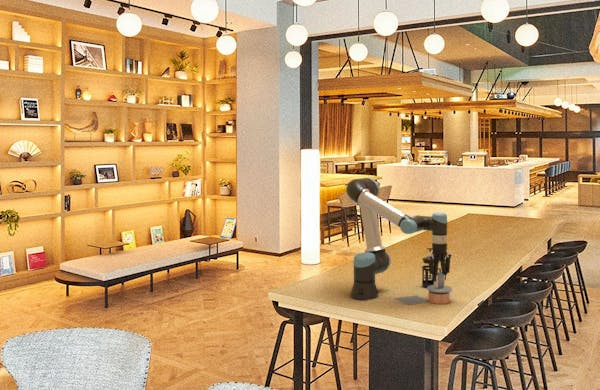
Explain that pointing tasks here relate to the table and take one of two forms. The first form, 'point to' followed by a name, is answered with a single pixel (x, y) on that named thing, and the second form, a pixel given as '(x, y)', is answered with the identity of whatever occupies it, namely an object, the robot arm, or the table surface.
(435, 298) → the bowl
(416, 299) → the mat
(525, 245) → the table surface
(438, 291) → the lid
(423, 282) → the french press
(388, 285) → the table surface
